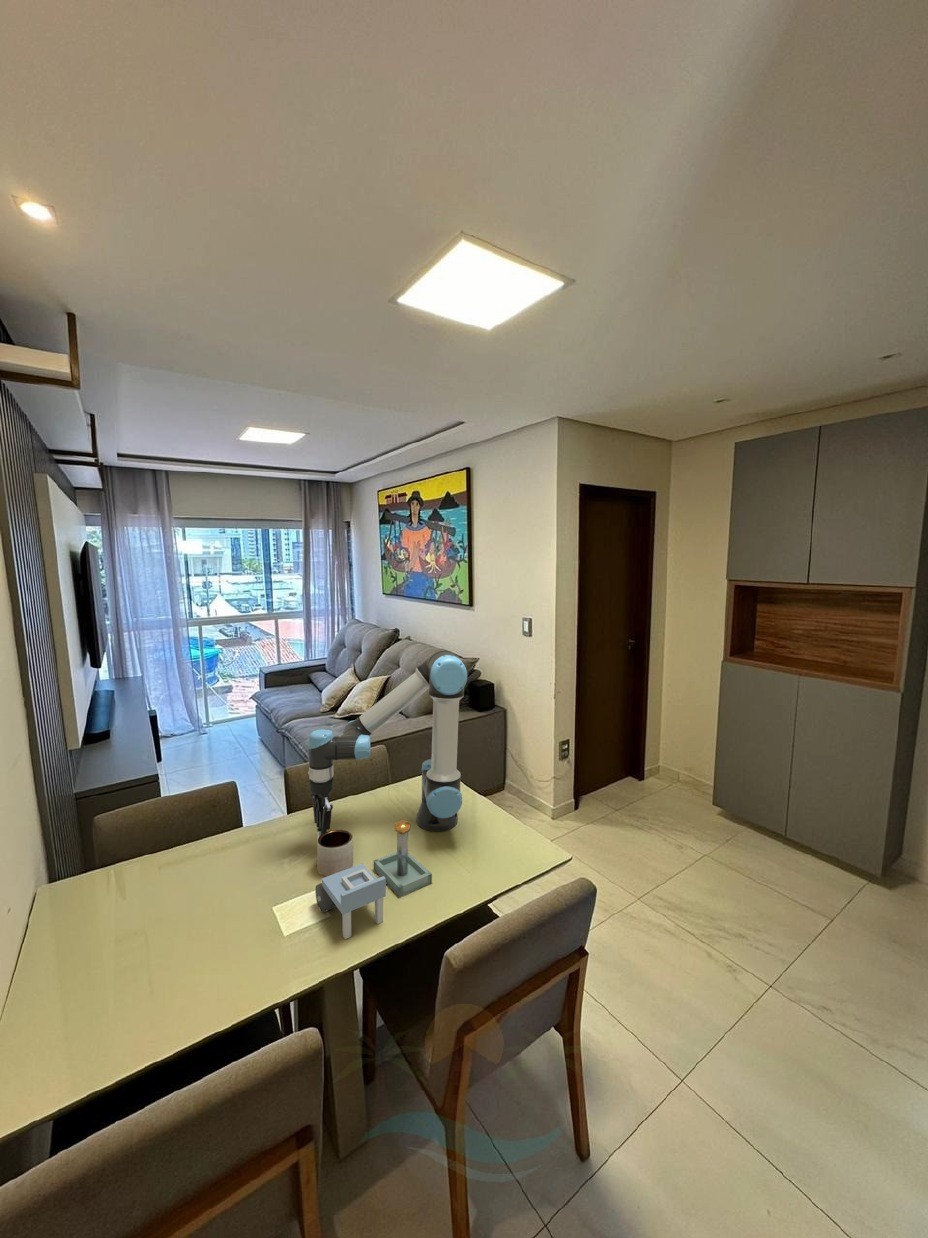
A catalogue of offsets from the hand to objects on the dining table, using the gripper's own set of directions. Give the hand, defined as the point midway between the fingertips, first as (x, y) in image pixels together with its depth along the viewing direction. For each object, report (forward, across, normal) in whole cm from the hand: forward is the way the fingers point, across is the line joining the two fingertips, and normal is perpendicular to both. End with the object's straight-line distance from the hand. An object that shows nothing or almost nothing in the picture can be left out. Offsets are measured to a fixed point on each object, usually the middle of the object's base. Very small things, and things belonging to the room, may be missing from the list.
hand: (322, 847), depth 162 cm
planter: (+2, +11, 0) cm, 11 cm away
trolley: (+1, +33, -4) cm, 33 cm away
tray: (+1, +27, +15) cm, 31 cm away
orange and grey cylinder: (0, +27, +15) cm, 31 cm away
